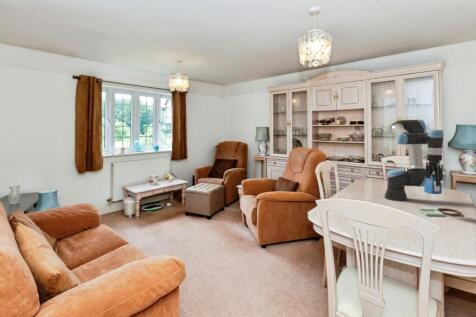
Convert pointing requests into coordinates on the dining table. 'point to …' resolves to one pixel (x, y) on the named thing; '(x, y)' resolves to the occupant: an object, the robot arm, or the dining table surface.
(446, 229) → the dining table surface
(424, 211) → the tray
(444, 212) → the ring
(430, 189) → the perfume bottle
